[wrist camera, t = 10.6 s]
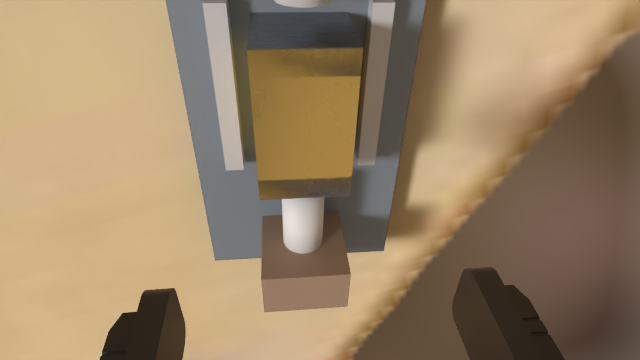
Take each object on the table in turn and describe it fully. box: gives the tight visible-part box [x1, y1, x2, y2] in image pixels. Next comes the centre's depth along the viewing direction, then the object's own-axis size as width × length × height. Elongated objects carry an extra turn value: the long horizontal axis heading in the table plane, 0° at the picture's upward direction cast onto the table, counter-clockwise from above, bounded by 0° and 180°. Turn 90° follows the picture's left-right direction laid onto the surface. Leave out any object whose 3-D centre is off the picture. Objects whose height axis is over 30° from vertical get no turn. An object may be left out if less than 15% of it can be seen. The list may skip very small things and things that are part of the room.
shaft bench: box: [166, 0, 426, 312], centre depth 21 cm, size 26×12×7 cm, turn 179°
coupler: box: [247, 12, 363, 200], centre depth 21 cm, size 8×4×4 cm, turn 179°
